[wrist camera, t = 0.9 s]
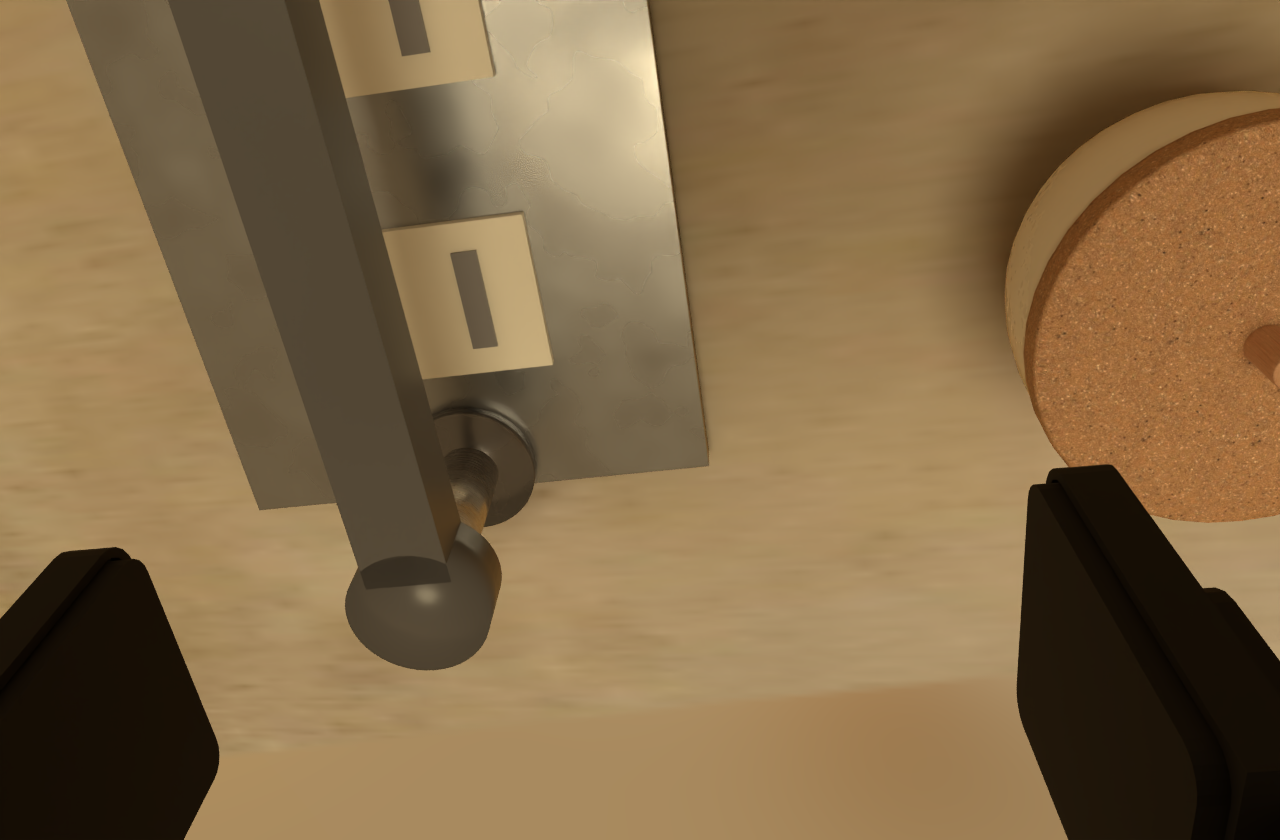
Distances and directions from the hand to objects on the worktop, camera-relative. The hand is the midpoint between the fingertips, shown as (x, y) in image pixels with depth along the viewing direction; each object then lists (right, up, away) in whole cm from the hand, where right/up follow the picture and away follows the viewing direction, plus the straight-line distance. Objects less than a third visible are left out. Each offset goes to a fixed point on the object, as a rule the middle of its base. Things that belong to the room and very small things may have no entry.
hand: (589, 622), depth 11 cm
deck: (-6, +9, +21) cm, 24 cm away
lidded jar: (+16, +8, +21) cm, 28 cm away
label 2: (-6, +6, +22) cm, 24 cm away
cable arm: (-7, +5, +16) cm, 18 cm away
